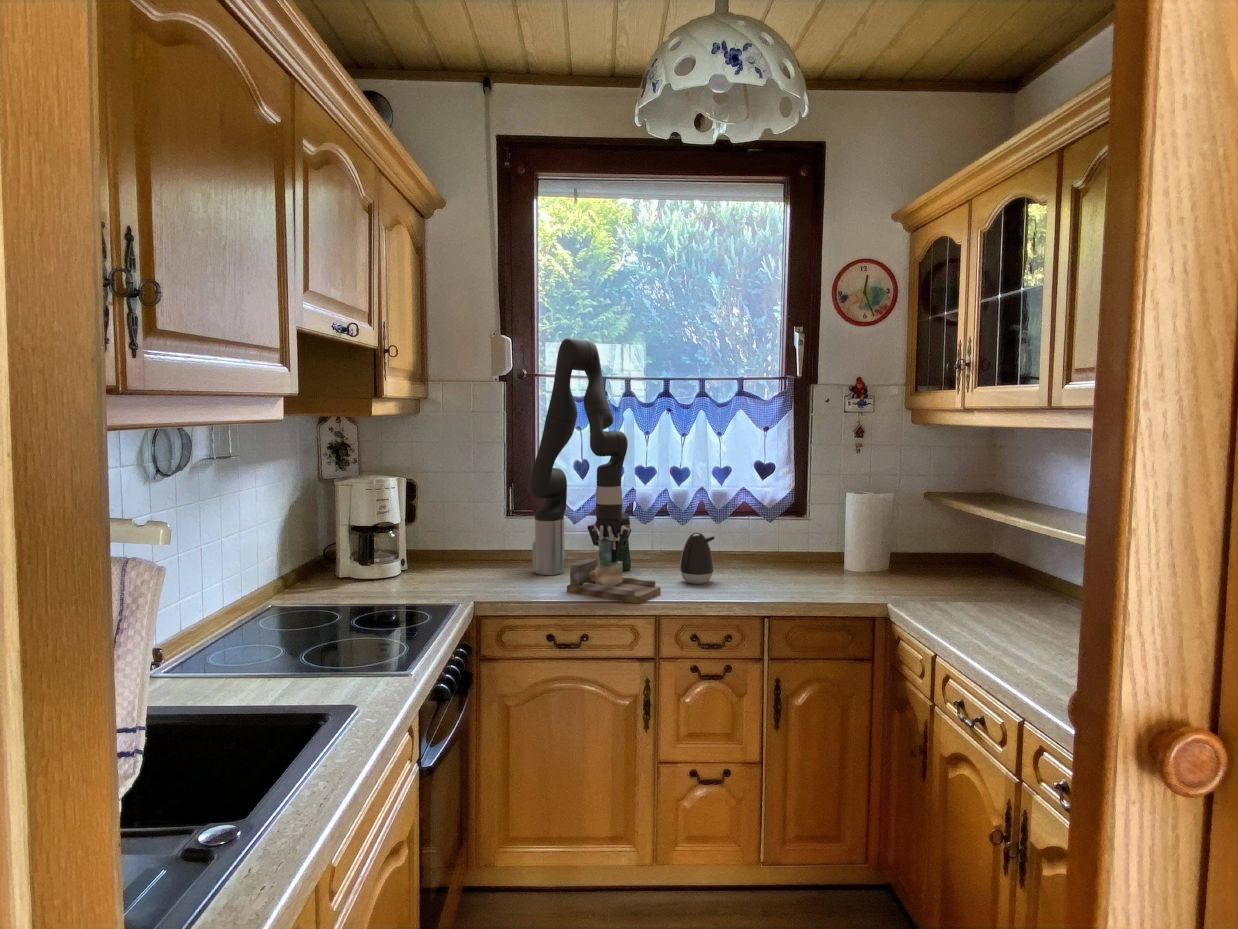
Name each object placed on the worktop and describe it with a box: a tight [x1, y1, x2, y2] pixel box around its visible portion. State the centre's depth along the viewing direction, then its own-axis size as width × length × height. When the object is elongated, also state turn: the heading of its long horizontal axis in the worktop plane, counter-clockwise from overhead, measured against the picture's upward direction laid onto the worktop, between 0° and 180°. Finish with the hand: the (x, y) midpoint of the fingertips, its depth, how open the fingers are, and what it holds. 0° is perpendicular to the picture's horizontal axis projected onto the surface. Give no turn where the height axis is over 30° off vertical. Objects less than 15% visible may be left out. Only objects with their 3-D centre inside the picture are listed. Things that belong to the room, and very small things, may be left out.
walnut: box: [588, 570, 595, 582], centre depth 223 cm, size 4×4×4 cm
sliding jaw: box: [595, 538, 624, 586], centre depth 221 cm, size 3×10×13 cm, turn 149°
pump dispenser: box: [679, 532, 715, 585], centre depth 233 cm, size 10×10×15 cm
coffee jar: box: [608, 512, 632, 572], centre depth 250 cm, size 10×8×19 cm
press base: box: [566, 557, 662, 605], centre depth 220 cm, size 24×13×8 cm, turn 59°
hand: (609, 561), depth 220 cm, fingers closed on sliding jaw, 3 cm apart
